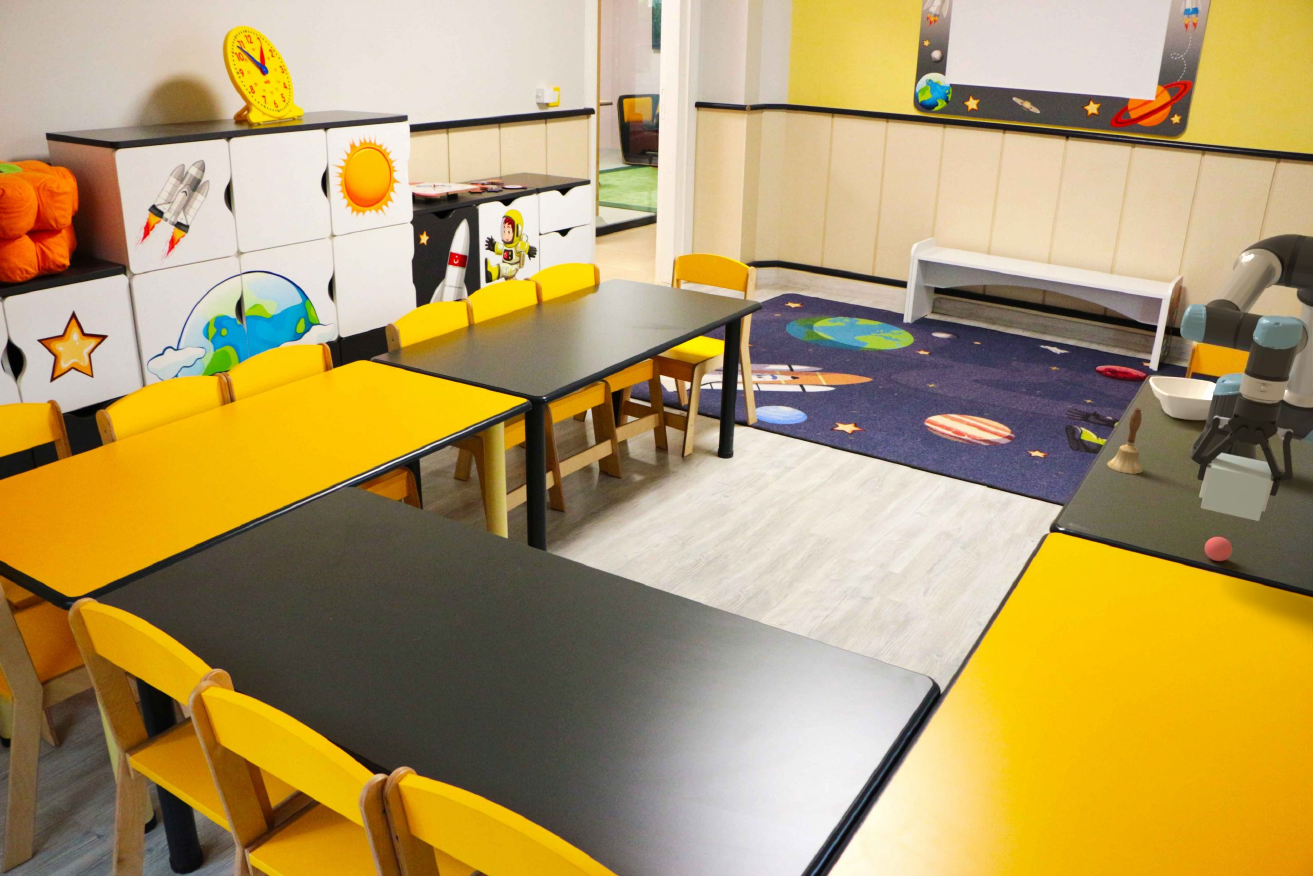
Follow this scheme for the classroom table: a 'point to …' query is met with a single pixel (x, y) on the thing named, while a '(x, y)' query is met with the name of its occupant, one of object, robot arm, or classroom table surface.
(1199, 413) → the bowl
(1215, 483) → the rounded gray box
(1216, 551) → the ball
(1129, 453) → the hand bell
